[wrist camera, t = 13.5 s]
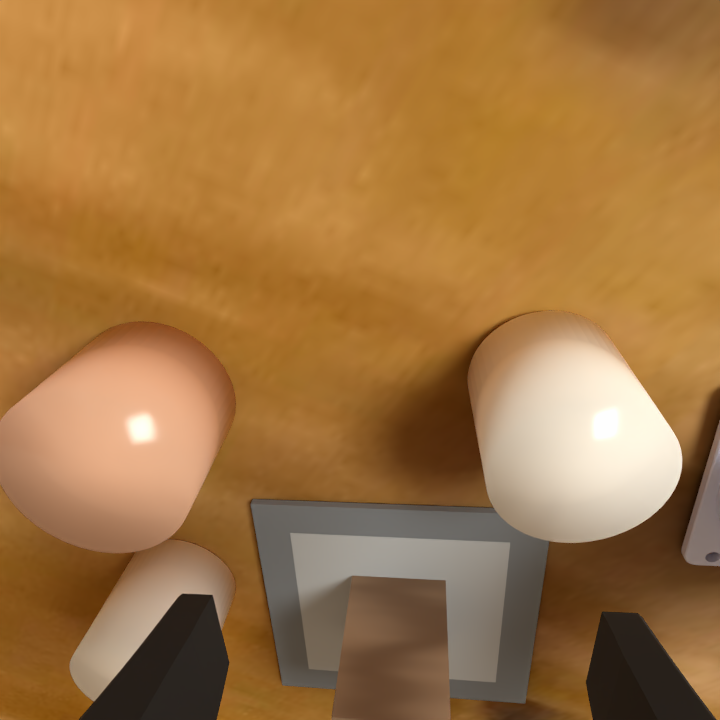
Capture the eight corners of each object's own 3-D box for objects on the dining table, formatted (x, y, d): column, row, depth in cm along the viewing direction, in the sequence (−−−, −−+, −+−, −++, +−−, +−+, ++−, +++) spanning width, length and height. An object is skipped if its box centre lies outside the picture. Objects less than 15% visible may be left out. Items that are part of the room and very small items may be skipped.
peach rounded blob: (148, 288, 19) (72, 349, 15) (268, 406, 21) (233, 493, 17) (47, 383, 21) (-47, 462, 17) (165, 484, 23) (108, 580, 19)
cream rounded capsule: (213, 534, 25) (164, 638, 20) (250, 612, 27) (213, 720, 22) (113, 544, 26) (46, 644, 21) (156, 617, 28) (104, 722, 23)
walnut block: (445, 580, 24) (450, 726, 19) (443, 641, 26) (447, 790, 21) (352, 575, 24) (331, 717, 19) (356, 636, 26) (339, 780, 21)
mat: (551, 509, 22) (553, 516, 22) (524, 697, 28) (525, 703, 27) (252, 499, 23) (250, 504, 23) (283, 679, 29) (282, 685, 29)
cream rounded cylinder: (648, 377, 19) (720, 479, 15) (529, 457, 21) (562, 567, 17) (556, 280, 18) (606, 362, 13) (437, 376, 20) (447, 474, 15)
